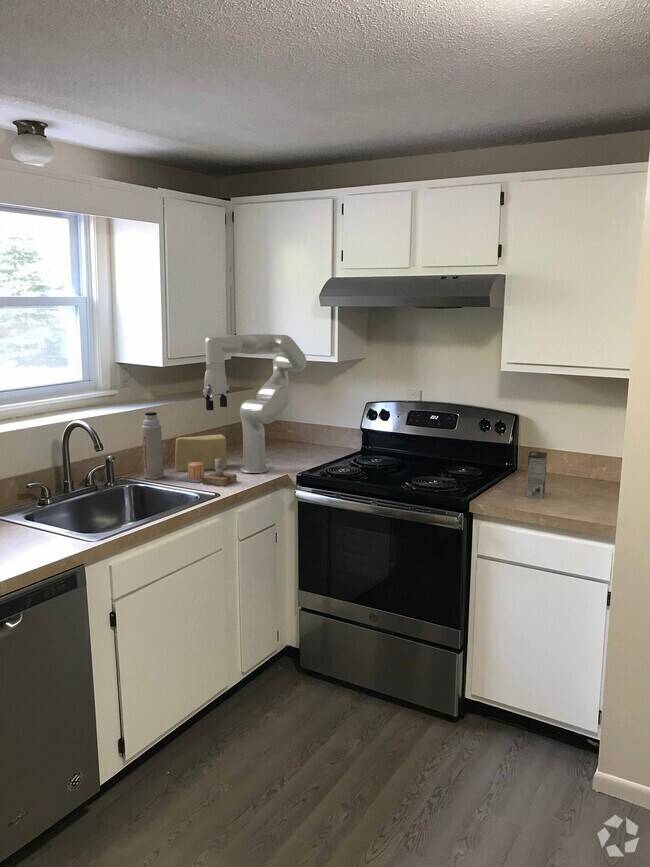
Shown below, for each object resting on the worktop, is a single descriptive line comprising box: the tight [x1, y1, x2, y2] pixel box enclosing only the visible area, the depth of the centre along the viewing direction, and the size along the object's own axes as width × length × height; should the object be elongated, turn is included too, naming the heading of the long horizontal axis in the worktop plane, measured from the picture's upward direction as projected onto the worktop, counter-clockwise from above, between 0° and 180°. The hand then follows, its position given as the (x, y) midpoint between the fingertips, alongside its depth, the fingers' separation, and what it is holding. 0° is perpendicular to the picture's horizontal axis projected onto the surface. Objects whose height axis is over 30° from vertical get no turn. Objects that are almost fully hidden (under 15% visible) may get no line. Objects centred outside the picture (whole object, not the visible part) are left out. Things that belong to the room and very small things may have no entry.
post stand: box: [202, 458, 238, 487], centre depth 297 cm, size 10×10×10 cm
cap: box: [187, 462, 205, 479], centre depth 304 cm, size 6×6×6 cm
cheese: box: [174, 433, 228, 472], centre depth 321 cm, size 22×10×15 cm, turn 109°
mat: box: [176, 474, 208, 484], centre depth 304 cm, size 11×11×1 cm
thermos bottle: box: [141, 411, 165, 480], centre depth 305 cm, size 8×8×28 cm
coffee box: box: [526, 450, 548, 499], centre depth 275 cm, size 9×6×16 cm
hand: (216, 408), depth 297 cm, fingers open, 9 cm apart
